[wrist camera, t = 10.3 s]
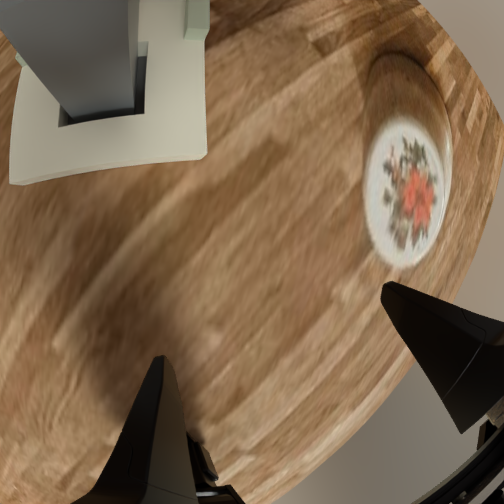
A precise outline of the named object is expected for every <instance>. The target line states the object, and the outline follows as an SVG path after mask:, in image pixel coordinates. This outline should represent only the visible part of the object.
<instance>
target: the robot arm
mask: <svg viewBox="0 0 504 504" xmlns="http://www.w3.org/2000/svg"><path fill="white" fill-rule="evenodd" d="M380 299H381V303H382V305H383V307H384V309H385V311H386V312H387V314H388V316H389V318H390V319H391V321H392V323H393V325H394V327H395V328H396V330H397V332H398V333H399V335H400V336H401V338H402V339H403V341H404V342H405V344H406V345H407V346H408V348H409V349H410V351H411V352H412V354H413V355H414V357H415V359H416V360H417V362H418V363H419V365H420V366H421V368H422V369H423V371H424V372H425V374H426V376H427V377H428V379H429V380H430V382H431V383H432V385H433V387H434V388H435V390H436V392H437V393H438V395H439V397H440V398H441V400H442V402H443V404H444V405H445V407H446V409H447V411H448V412H449V414H450V416H451V418H452V419H453V421H454V423H455V425H456V427H457V428H458V430H459V432H460V433H461V434H463V433H464V432H465V431H466V430H467V429H469V428H470V427H471V426H472V425H474V424H475V423H476V422H477V421H478V420H479V419H480V418H482V417H483V416H484V415H485V414H486V416H487V417H488V419H487V420H486V421H485V422H484V423H483V424H482V425H481V426H480V430H479V437H478V444H477V452H476V453H475V454H473V456H471V457H470V458H469V459H468V460H467V461H466V462H465V463H464V464H463V465H461V466H460V467H459V468H458V469H457V470H456V471H454V472H453V473H452V474H451V475H450V476H448V477H447V478H446V479H445V480H443V481H442V482H441V483H440V484H438V485H437V486H436V487H434V488H433V489H432V490H430V491H429V492H427V493H426V494H425V495H423V496H422V497H420V498H419V499H417V500H416V501H414V502H413V503H411V504H449V503H450V502H452V504H504V492H503V491H502V488H504V322H501V321H498V320H495V319H491V318H488V317H485V316H482V315H479V314H476V313H473V312H471V311H468V310H466V309H463V308H460V307H458V306H456V305H453V304H451V303H448V302H446V301H443V300H441V299H438V298H435V297H433V296H430V295H428V294H425V293H423V292H420V291H417V290H415V289H412V288H410V287H407V286H404V285H402V284H399V283H396V282H394V281H389V282H387V283H385V284H384V285H383V287H382V292H381V298H380ZM218 478H219V477H218V475H217V472H216V470H215V467H214V465H213V462H212V460H211V457H210V454H209V452H208V451H207V450H206V449H205V448H204V447H203V446H202V445H201V444H200V443H199V442H195V441H194V439H193V438H192V437H191V436H190V435H189V434H188V433H187V432H186V430H185V422H184V414H183V407H182V402H181V398H180V394H179V390H178V385H177V380H176V376H175V371H174V369H173V367H172V365H171V363H170V362H169V360H168V359H167V357H166V356H165V355H161V356H157V357H155V358H154V359H153V361H152V363H151V365H150V367H149V370H148V372H147V374H146V376H145V378H144V381H143V383H142V385H141V387H140V389H139V392H138V394H137V396H136V399H135V401H134V403H133V405H132V408H131V410H130V412H129V415H128V417H127V419H126V422H125V424H124V426H123V429H122V432H121V434H120V436H119V438H118V441H117V443H116V445H115V447H114V450H113V452H112V454H111V456H110V458H109V460H108V462H107V463H106V465H105V467H104V469H103V471H102V473H101V475H100V476H99V478H98V480H97V482H96V484H95V485H94V487H93V488H92V489H91V490H90V491H89V492H88V493H87V494H86V495H84V496H82V497H81V498H79V499H78V500H76V501H74V502H72V503H71V504H245V502H244V501H243V500H242V499H241V497H240V496H239V495H238V494H237V492H236V491H235V490H234V489H233V487H232V486H231V485H225V486H216V484H215V481H217V480H218Z"/></svg>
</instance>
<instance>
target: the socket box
mask: <svg viewBox="0 0 504 504" xmlns="http://www.w3.org/2000/svg"><path fill="white" fill-rule="evenodd" d="M209 29H210V0H140V3H139V21H138V70H137V85H136V108H135V115H129V116H121V117H113V118H107V119H100V120H94V121H88V122H83V123H78V124H77V123H76V122H75V121H74V120H73V119H72V118H71V116H70V115H69V114H68V113H67V112H66V111H65V109H64V108H63V107H62V106H61V105H60V104H59V102H58V101H57V100H56V99H55V98H54V96H53V95H52V94H51V93H50V92H49V91H48V89H47V88H46V87H45V86H44V84H43V83H42V82H41V81H40V80H39V78H38V77H37V76H36V75H35V73H34V72H33V71H32V70H31V68H30V67H29V66H28V65H27V63H26V62H25V61H24V60H23V58H22V57H21V56H20V54H19V53H18V52H17V54H16V57H15V59H16V60H17V61H18V62H19V63H20V65H21V66H22V70H21V75H20V79H19V84H18V89H17V94H16V99H15V106H14V112H13V120H12V129H11V141H10V160H9V184H14V185H23V186H24V185H28V184H32V183H36V182H41V181H45V180H49V179H54V178H59V177H64V176H69V175H74V174H80V173H85V172H91V171H97V170H104V169H111V168H118V167H125V166H133V165H142V164H151V163H162V162H173V161H187V160H200V159H202V158H203V157H204V156H205V155H207V137H206V111H205V68H204V40H205V38H206V36H207V34H208V31H209Z"/></svg>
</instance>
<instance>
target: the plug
mask: <svg viewBox="0 0 504 504" xmlns="http://www.w3.org/2000/svg"><path fill="white" fill-rule="evenodd" d="M139 3H140V0H0V29H1V30H2V32H3V33H4V35H5V36H6V37H7V39H8V40H9V41H10V43H11V44H12V45H13V47H14V48H15V49H16V51H17V52H18V53H19V54H20V56H21V57H22V58H23V60H24V61H25V62H26V63H27V65H28V66H29V67H30V68H31V70H32V71H33V72H34V73H35V75H36V76H37V77H38V78H39V80H40V81H41V82H42V83H43V84H44V86H45V87H46V88H47V89H48V91H49V92H50V93H51V94H52V95H53V96H54V98H55V99H56V100H57V101H58V102H59V104H60V105H61V106H62V107H63V108H64V109H65V111H66V112H67V113H68V114H69V115H70V116H71V118H72V119H73V120H74V121H75V122H76V123H77V124H78V123H83V122H88V121H94V120H100V119H107V118H113V117H121V116H129V115H135V108H136V85H137V70H138V21H139Z"/></svg>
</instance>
